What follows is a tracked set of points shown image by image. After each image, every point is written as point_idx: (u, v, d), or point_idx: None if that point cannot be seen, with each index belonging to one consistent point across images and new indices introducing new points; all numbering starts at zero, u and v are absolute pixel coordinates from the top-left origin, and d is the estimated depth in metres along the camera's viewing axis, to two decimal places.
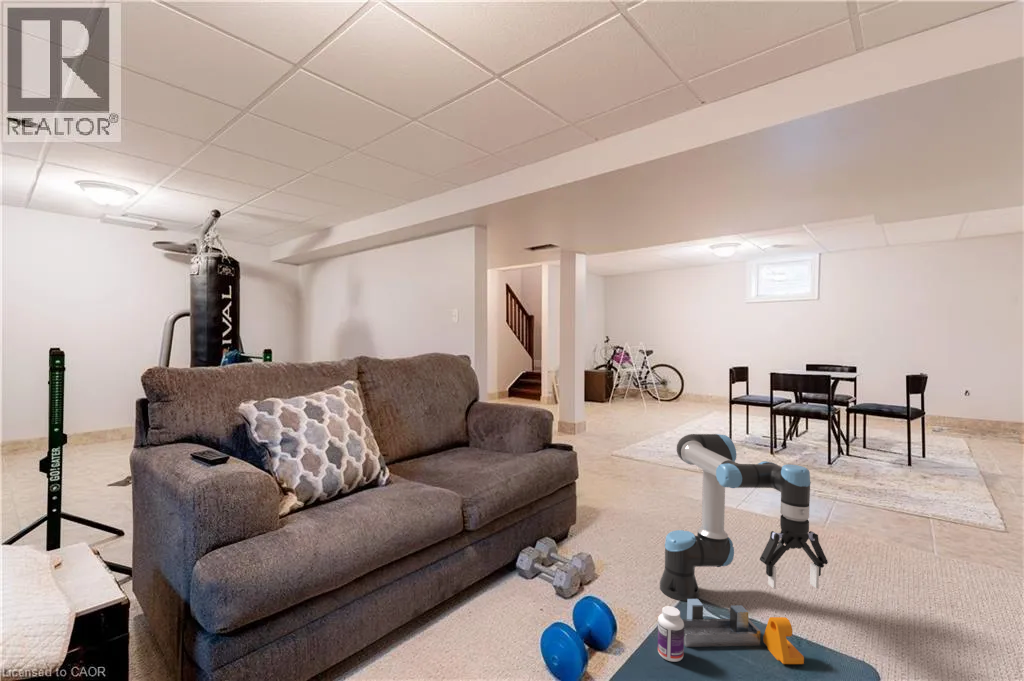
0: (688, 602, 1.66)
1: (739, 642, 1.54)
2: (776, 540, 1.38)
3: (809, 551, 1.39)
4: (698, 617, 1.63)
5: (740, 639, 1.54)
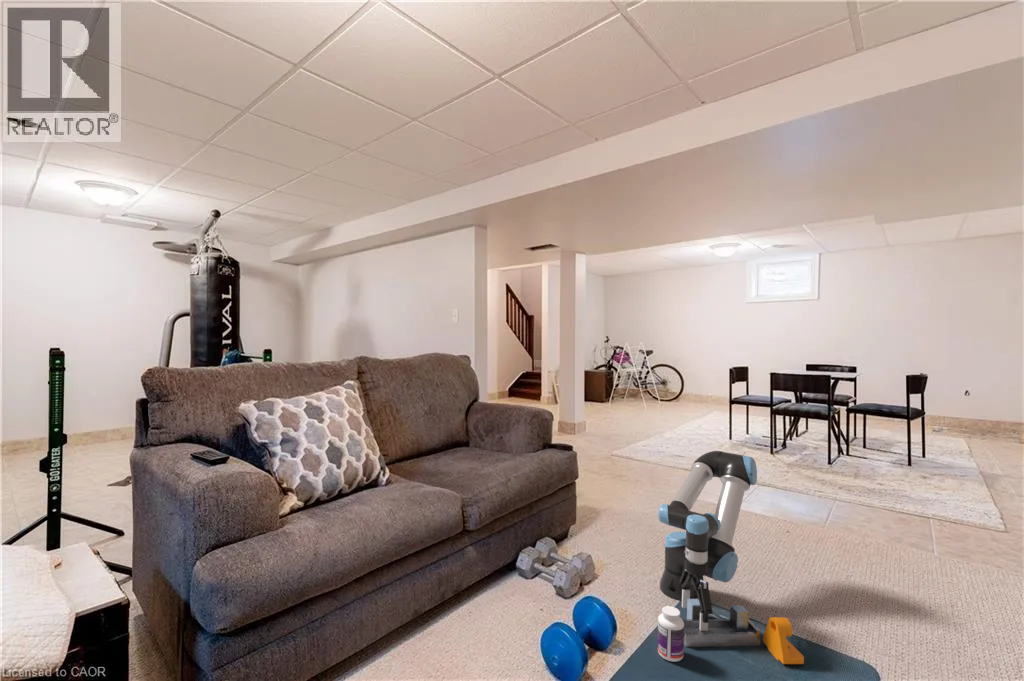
0: (688, 602, 1.66)
1: (739, 642, 1.54)
2: (684, 569, 1.72)
3: (697, 593, 1.61)
4: (698, 617, 1.63)
5: (740, 639, 1.54)
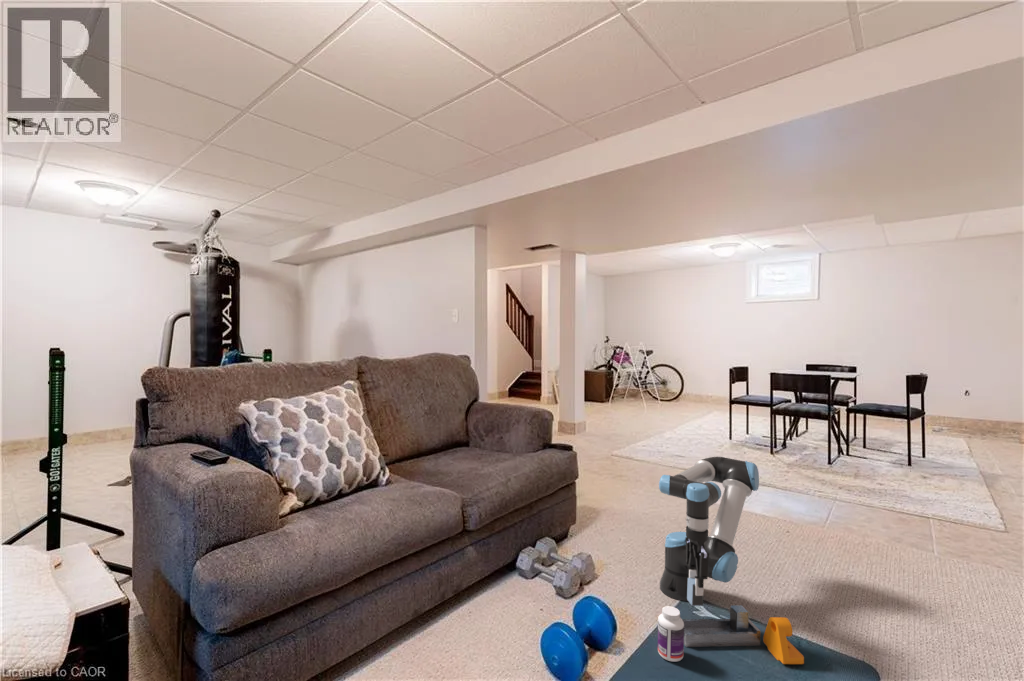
0: (688, 581, 1.67)
1: (739, 642, 1.54)
2: (686, 542, 1.71)
3: (696, 560, 1.63)
4: None
5: (740, 639, 1.54)
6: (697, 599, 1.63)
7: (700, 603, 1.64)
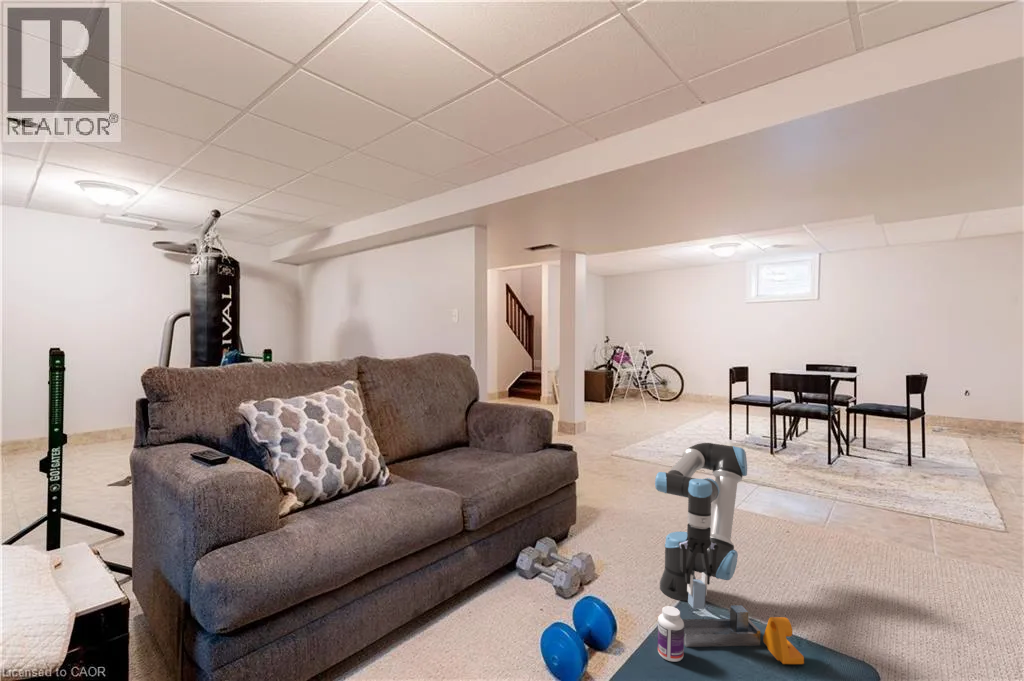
0: (696, 587, 1.55)
1: (739, 642, 1.54)
2: (683, 550, 1.57)
3: (705, 558, 1.57)
4: None
5: (740, 639, 1.54)
6: None
7: None
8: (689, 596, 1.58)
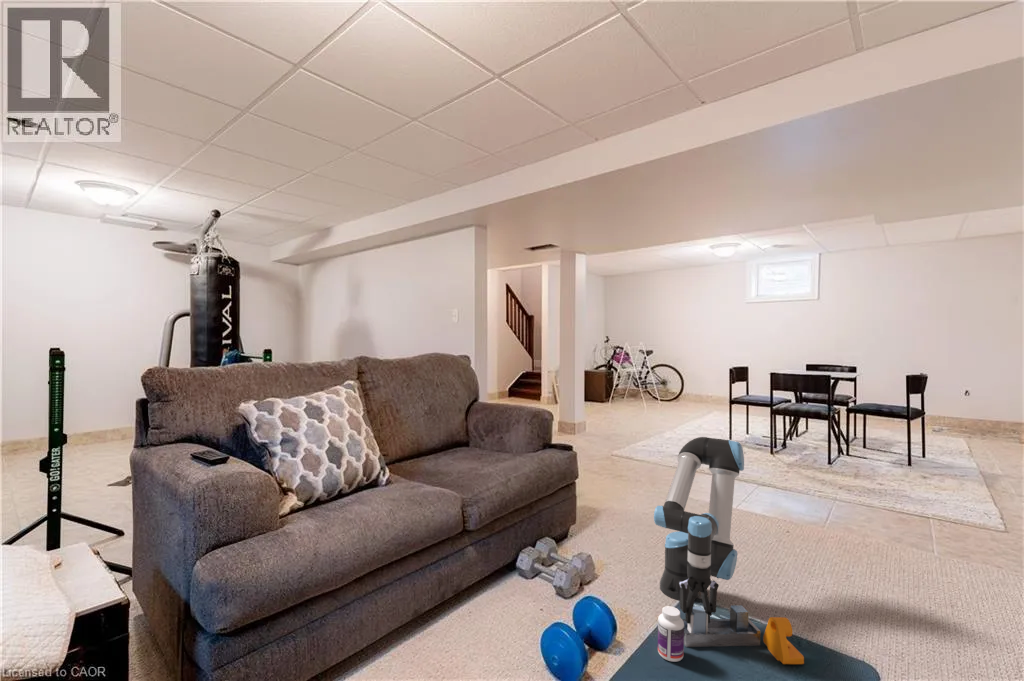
0: (697, 615, 1.55)
1: (739, 642, 1.54)
2: (684, 589, 1.55)
3: (705, 597, 1.56)
4: None
5: (740, 639, 1.54)
6: None
7: None
8: None
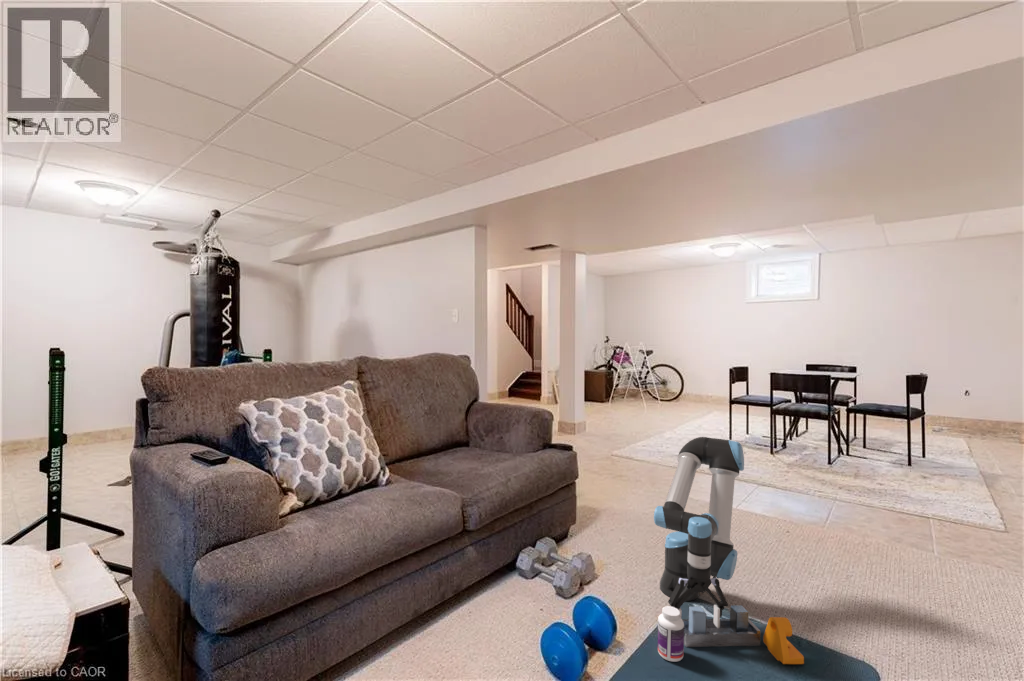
0: (697, 615, 1.55)
1: (739, 642, 1.54)
2: (681, 585, 1.55)
3: (711, 595, 1.56)
4: None
5: (740, 639, 1.54)
6: None
7: None
8: (690, 624, 1.58)
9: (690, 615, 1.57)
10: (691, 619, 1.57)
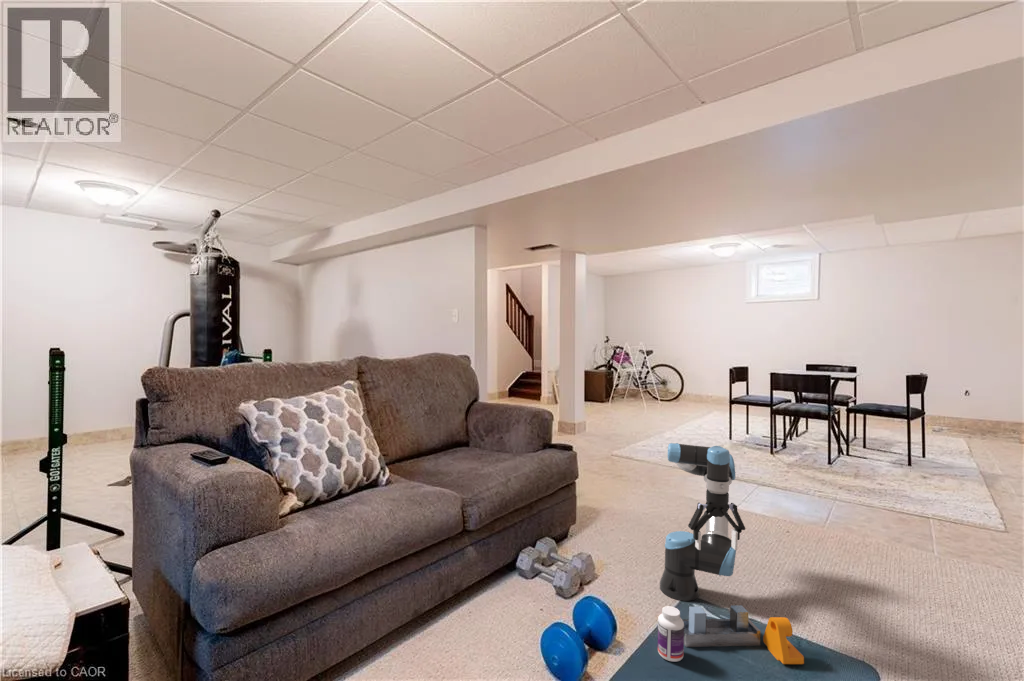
0: (697, 615, 1.55)
1: (739, 642, 1.54)
2: (701, 510, 1.65)
3: (729, 519, 1.65)
4: None
5: (740, 639, 1.54)
6: None
7: None
8: (690, 624, 1.58)
9: (690, 615, 1.57)
10: (691, 619, 1.57)
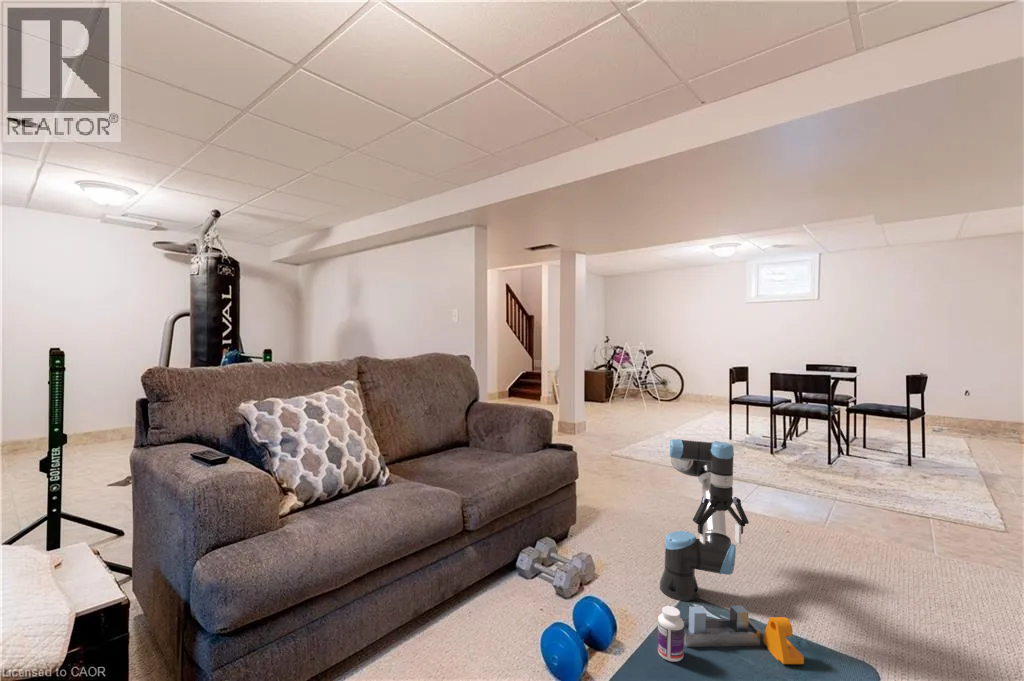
0: (697, 615, 1.55)
1: (739, 642, 1.54)
2: (705, 504, 1.66)
3: (733, 513, 1.67)
4: None
5: (740, 639, 1.54)
6: None
7: None
8: (690, 624, 1.58)
9: (690, 615, 1.57)
10: (691, 619, 1.57)
